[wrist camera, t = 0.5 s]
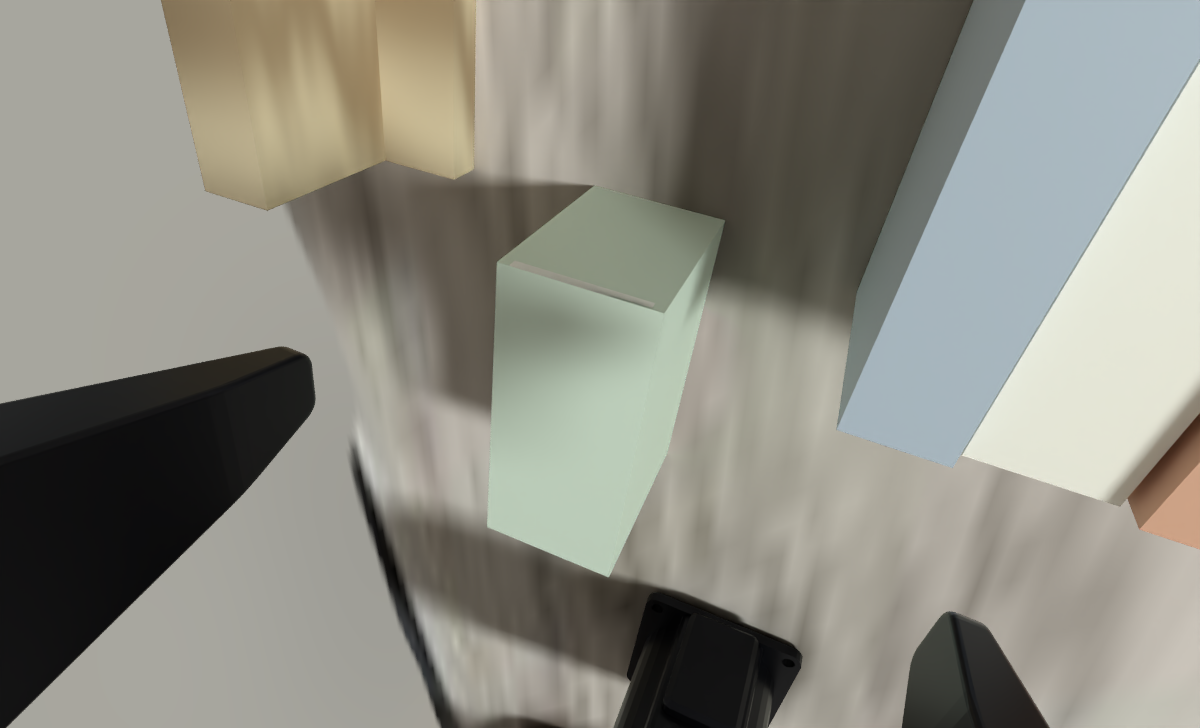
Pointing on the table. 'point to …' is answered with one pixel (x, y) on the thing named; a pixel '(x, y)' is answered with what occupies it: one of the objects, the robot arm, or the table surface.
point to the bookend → (323, 90)
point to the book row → (1048, 261)
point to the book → (592, 368)
